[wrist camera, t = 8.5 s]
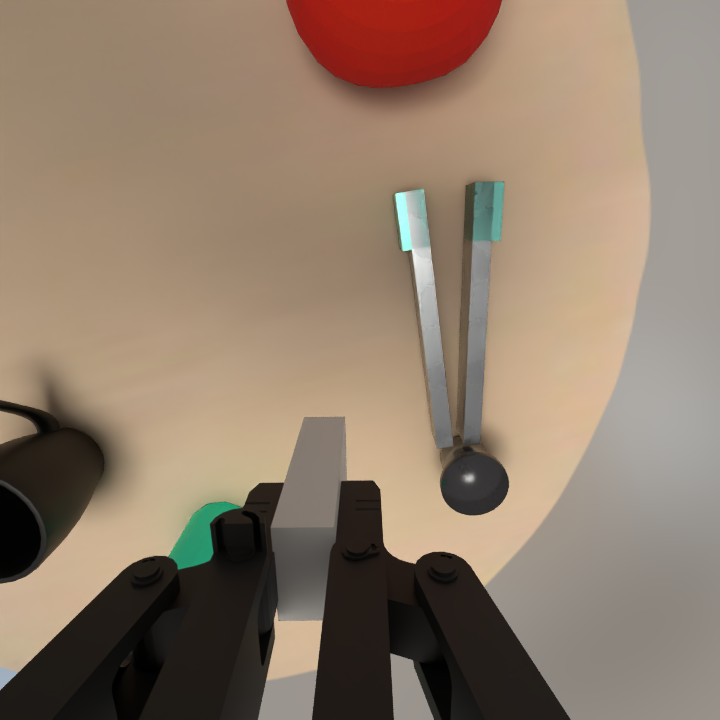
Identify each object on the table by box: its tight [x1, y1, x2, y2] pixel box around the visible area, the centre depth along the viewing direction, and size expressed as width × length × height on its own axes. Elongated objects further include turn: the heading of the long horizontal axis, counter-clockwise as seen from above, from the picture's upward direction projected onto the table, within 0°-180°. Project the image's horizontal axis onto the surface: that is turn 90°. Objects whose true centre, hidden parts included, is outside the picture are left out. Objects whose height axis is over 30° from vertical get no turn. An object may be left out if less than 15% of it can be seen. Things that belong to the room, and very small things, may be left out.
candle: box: [168, 502, 242, 570], centre depth 35 cm, size 6×6×12 cm
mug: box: [0, 400, 104, 584], centre depth 34 cm, size 8×12×10 cm
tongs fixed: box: [440, 182, 509, 515], centre depth 34 cm, size 23×5×5 cm, turn 1°
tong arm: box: [393, 189, 453, 448], centre depth 34 cm, size 18×2×3 cm, turn 9°
